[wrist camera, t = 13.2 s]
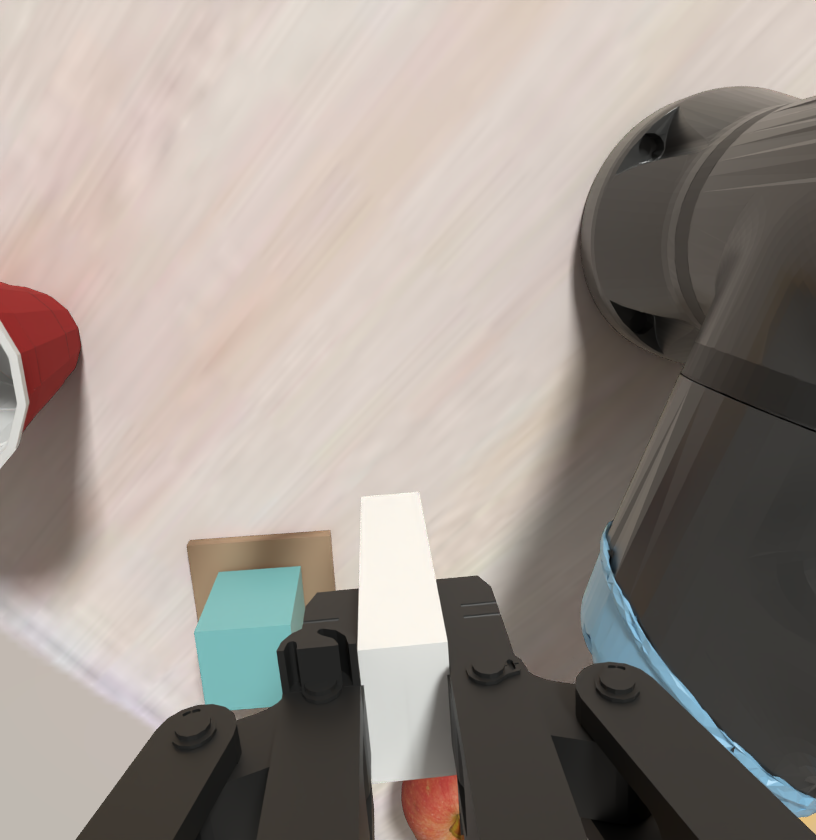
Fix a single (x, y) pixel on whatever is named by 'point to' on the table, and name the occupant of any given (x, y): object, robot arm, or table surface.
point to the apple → (432, 808)
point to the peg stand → (262, 560)
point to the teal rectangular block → (247, 635)
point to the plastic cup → (31, 358)
